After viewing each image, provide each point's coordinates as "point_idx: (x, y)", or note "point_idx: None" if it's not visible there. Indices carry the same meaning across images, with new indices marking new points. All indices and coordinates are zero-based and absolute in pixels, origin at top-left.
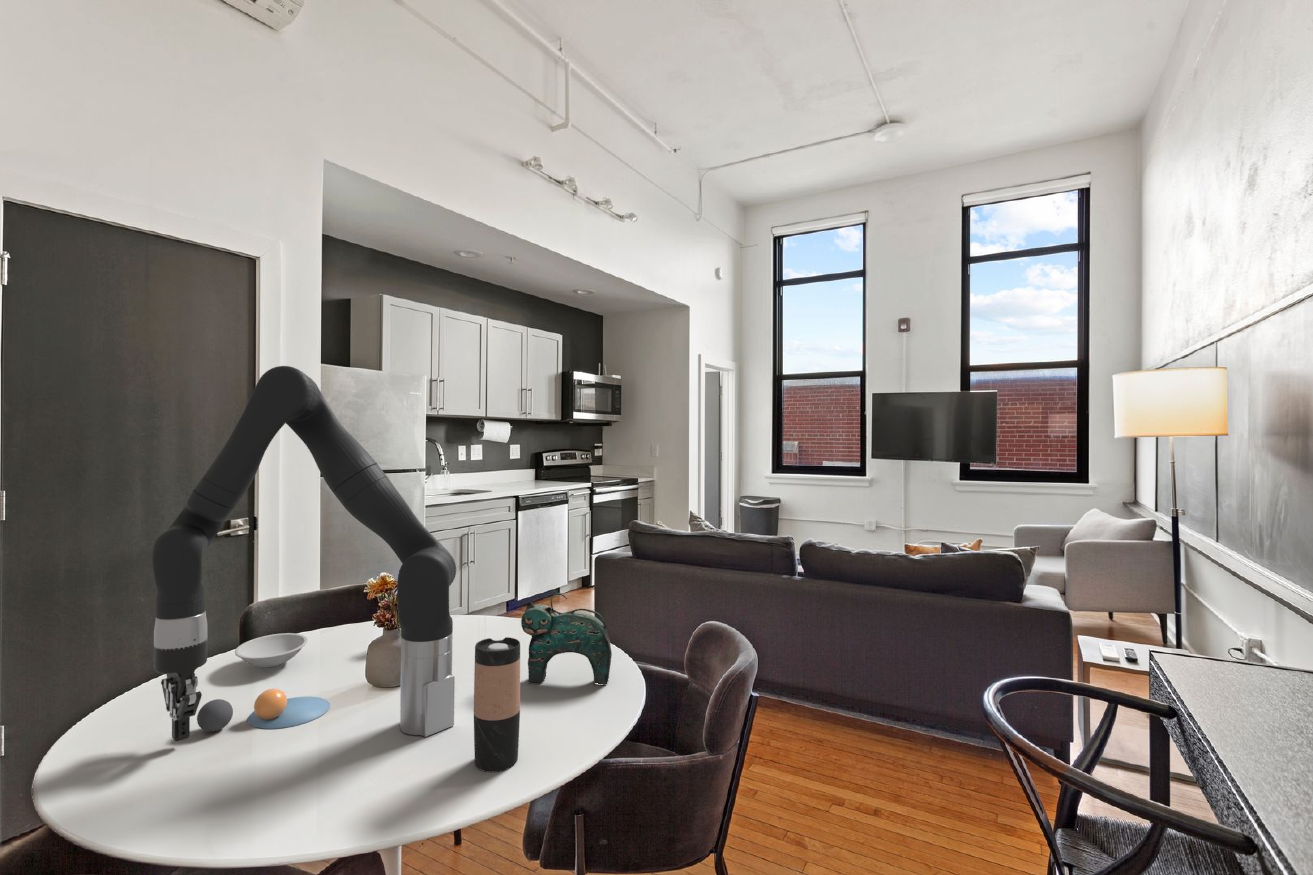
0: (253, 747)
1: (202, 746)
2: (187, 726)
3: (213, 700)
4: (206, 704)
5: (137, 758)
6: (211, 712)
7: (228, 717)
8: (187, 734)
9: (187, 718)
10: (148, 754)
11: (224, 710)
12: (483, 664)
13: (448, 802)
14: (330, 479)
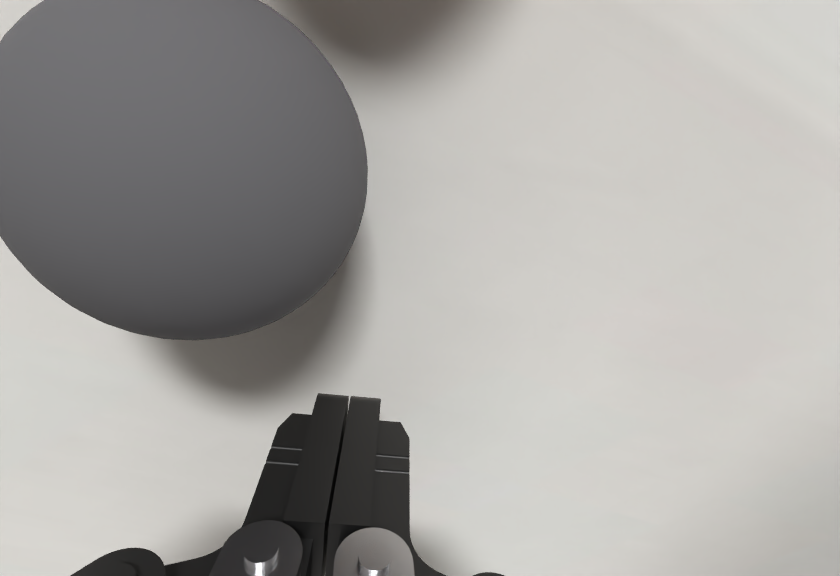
0: (827, 127)
1: (462, 315)
2: (408, 487)
3: (84, 234)
4: (117, 306)
5: None
6: (297, 286)
7: (348, 98)
8: (404, 434)
9: (413, 555)
10: None
11: (330, 155)
12: None
13: None
14: None
